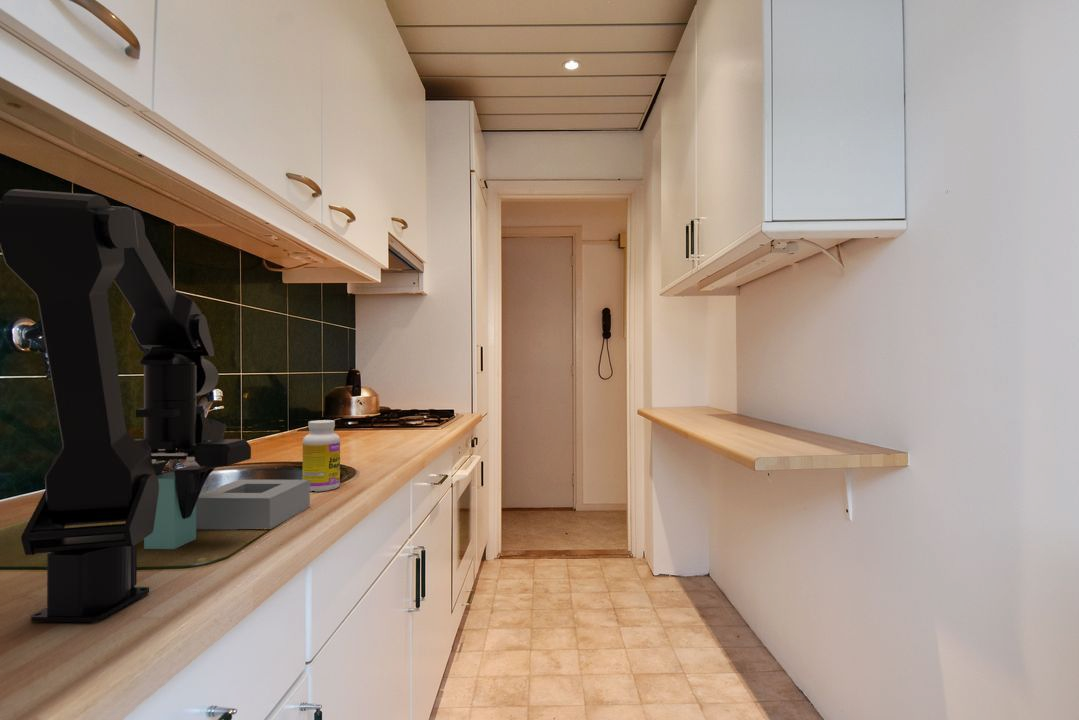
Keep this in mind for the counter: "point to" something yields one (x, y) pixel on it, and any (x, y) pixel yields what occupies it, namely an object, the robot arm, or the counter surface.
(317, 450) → the supplement bottle
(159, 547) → the teal block
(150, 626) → the counter surface
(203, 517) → the well block
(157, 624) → the counter surface
